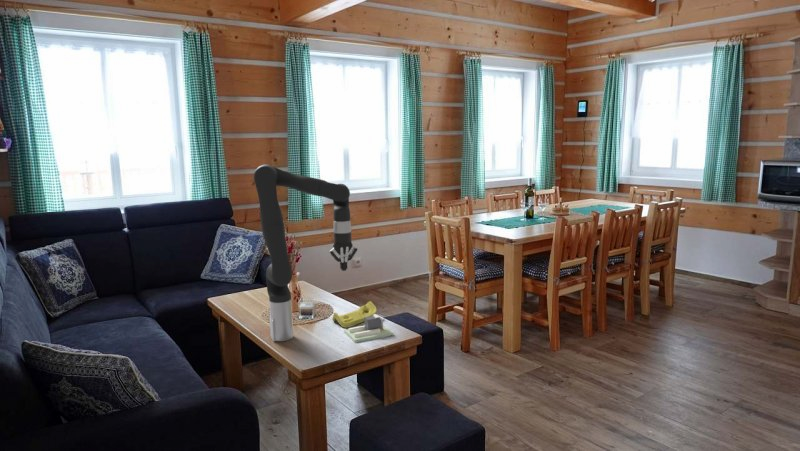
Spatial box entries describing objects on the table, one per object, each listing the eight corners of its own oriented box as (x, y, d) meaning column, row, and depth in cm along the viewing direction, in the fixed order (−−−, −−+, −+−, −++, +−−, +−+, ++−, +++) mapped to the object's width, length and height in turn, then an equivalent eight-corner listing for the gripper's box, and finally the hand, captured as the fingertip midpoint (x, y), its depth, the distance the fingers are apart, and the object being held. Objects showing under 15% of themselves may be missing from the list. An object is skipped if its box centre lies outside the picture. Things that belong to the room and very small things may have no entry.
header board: (354, 342, 230) (354, 328, 229) (344, 332, 242) (343, 319, 241) (393, 335, 238) (393, 321, 237) (381, 325, 250) (381, 312, 248)
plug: (368, 333, 238) (367, 319, 237) (364, 330, 241) (364, 316, 240) (380, 330, 240) (380, 317, 239) (377, 327, 244) (376, 314, 243)
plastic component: (344, 324, 246) (333, 310, 252) (342, 336, 250) (331, 321, 256) (380, 312, 257) (369, 298, 263) (377, 323, 261) (366, 310, 267)
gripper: (353, 228, 238) (354, 266, 241) (324, 231, 233) (326, 270, 236) (360, 230, 231) (361, 270, 234) (330, 233, 226) (331, 274, 229)
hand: (343, 270), depth 235 cm, fingers closed
